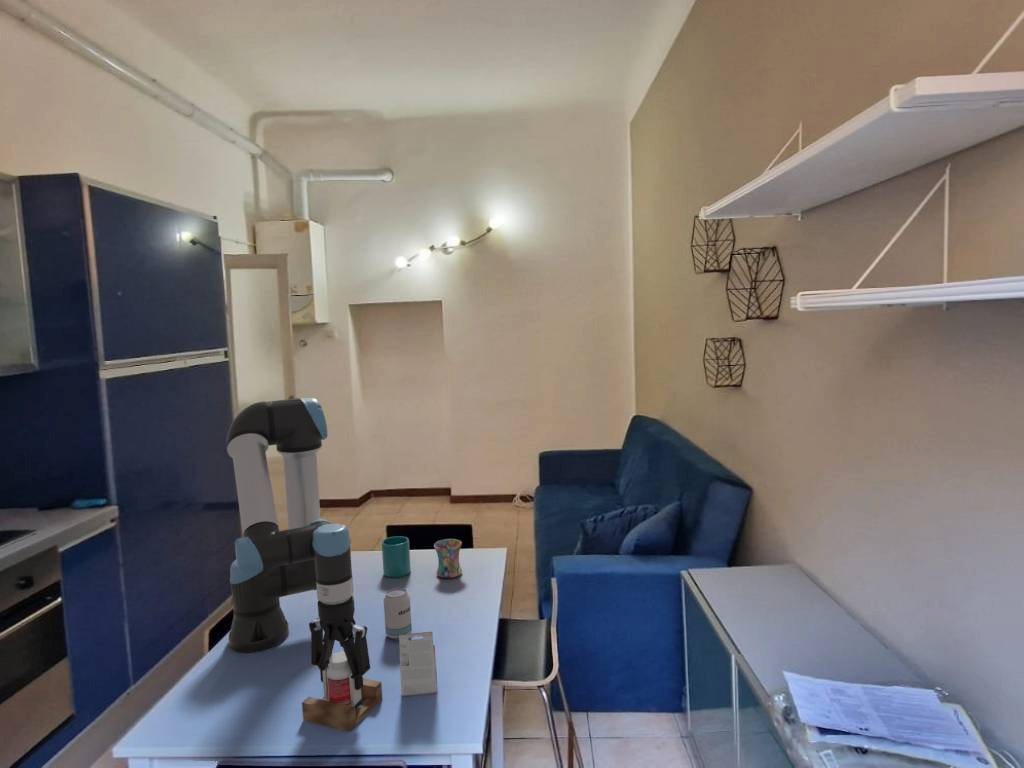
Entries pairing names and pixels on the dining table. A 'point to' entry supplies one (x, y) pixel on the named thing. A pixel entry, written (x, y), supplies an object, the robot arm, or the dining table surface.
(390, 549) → the cup
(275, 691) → the dining table surface
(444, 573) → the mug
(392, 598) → the beverage can
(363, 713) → the walnut holder
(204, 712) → the dining table surface
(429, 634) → the ink box
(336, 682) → the pill bottle
